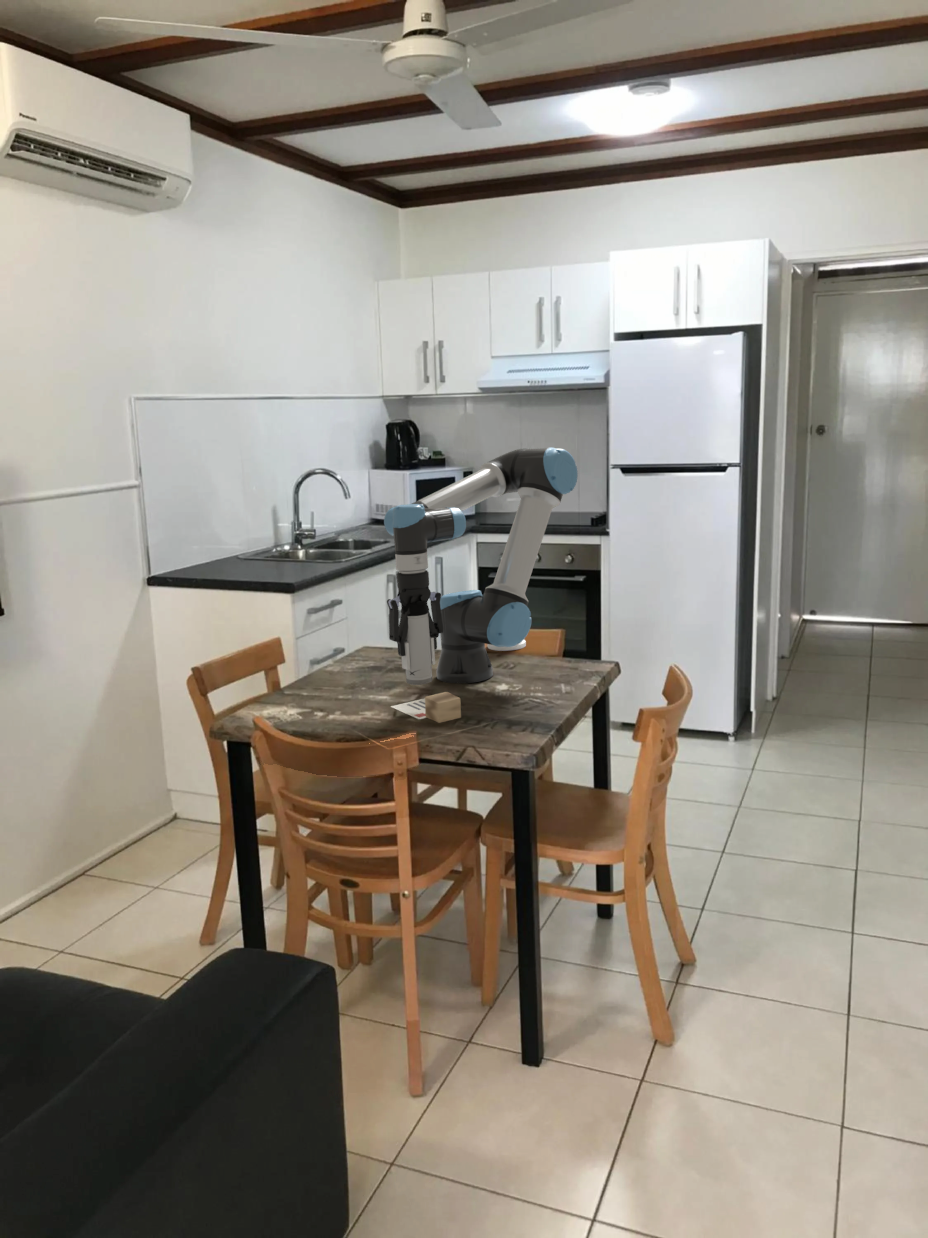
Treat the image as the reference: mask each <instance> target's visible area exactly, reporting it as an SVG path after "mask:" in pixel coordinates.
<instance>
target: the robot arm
mask: <svg viewBox="0 0 928 1238" xmlns="http://www.w3.org/2000/svg"><path fill="white" fill-rule="evenodd" d="M578 474H579V473H578V467H577V465H576V461H575V459H574V457H573V455H572V454H571V453H570V452H569V451H568V450H566V449H564V448H555V447H544V448H518V449H515V450H511V451H508V452H506V453H504V454H501V455H499V456H498V457H495V458H493V459H492V460H489V461H487V462H485V463H483V464H481V466H480V467H479V470H478V471H475V472H473V473H472V474H469V475H468V476H465V477H463V478H462V479H459V480H457V481H455V482H453V483H451V484H449V485H447V486H445V487H442V488H441V489H438V490H437V491H435V492H433V493H431V494H429V495H427V496H424V497H422V498H420V499H418V500H416V501H414V502H412V503H408V504H398V505H396V506H394V507H391V508H390V509H388V510H387V511H386V513H385V514H384V515H385V516H384V519H383V524H384V528H385V531H386V532H387V533H388V534H389V535H390V536H391V537H393V540H394V541H393V542H394V554H395V555H394V556H395V569H396V571H397V573H396V584H397V589H398V592H397V595H396V597H394V598H392V599H391V598H388V599H387V600H386V603H387V607H388V613H389V614H388V617H389V618H388V621H389V623H388V627H389V629H388V639H389V641H392V642H394V643H395V642H396V643H397V654H398V656H400V657H401V667H402V668H401V669H404V670H405V671H406V670H410V655H409V643H408V642H405V641H406V636H407V632H408V615H409V614H410V609H408V611H407V612H405V614H403V611H402V607H401V609H400V610H399V607H400V605H401V604H403V605H404V606H406V604H412V603H415V602H418V601H423V602H425V601H427V602H428V601H430V608H429V604H427V610H428V618H429V634H430V649H431V665H436V652H435V650H437V649H438V642H437V638H439V636H440V646H441V650H440V654H439V655H440V656H439V658H438V662H437V666H436V679H437V680H439V681H441V682H444V683H449V684H471V683H478V682H482V681H483V682H484V681H486V680H489V679H490V678H492V677H493V675H494V673H493V672H494V671H493V668H494V667H493V665H492V662H491V660H490V657H489V655H488V653H487V648H486V645H487V644H490V645H494V646H497V647H512V646H515V645H517V644H519V643H520V642H522V641H523V640H526V637H527V636H528V634H529V632H530V630H531V626H532V617H531V616H532V613H531V612H532V611H530V608H529V607H528V605H529V600H528V598H527V596H526V591H527V589H528V585H529V582H530V579H531V575H532V573H533V569H534V567H535V563H536V560H537V558H538V554H539V552H540V548H541V544H542V542H543V539H544V535H545V533H546V529H547V528H548V527H547V526H548V524H549V520H550V518H551V517H550V516H551V514H552V510H553V509H554V508H557V507H558V506H560V504H561V501H562V500H563V499H562V498H563V495H567V494H569V493H570V492H572V491H574V489H575V487H576V485H577V482H578ZM509 493H517V494H518V495H519V497H520V501H519V504H518V507H517V509H516V512H515V516H514V520H513V523H512V525H511V528H510V531H509V535H508V538H507V541H506V543H505V547H504V549H503V550H504V551H503V553H502V556H501V559H500V562H499V565H498V568H497V572H496V575H495V578H494V579H493V583H491V584H490V585H487V586H486V587H485V589H484V592H483V594H482V590H479V589H471V590H461V591H456V592H452V593H451V592H449V593H446V594H443V595H442V593H440V592H437V591H431V590H430V574H429V571H428V568H429V563H428V561H429V560H428V544H429V543H432V542H433V543H434V542H441V541H447V540H448V541H449V540H450V541H451V540H453V539H457V538H461V536H463V534H465V531H466V528H467V522H466V521H467V520H466V516H465V514H464V513H463V512H464V511H466V510H467V509H469V508H471V507H473V506H475V505H477V504H479V503H481V502H483V501H485V500H487V499H490V498H491V497H493V498H499V497H502V496H503V495H505V494H509ZM430 609H431V610H430ZM399 611H400V612H399ZM430 611H431V613H430ZM399 613H400V614H399ZM399 615H400V617H399ZM399 618H400V619H399ZM485 644H486V645H485Z"/></svg>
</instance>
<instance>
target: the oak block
mask: <svg viewBox="0 0 928 1238" xmlns="http://www.w3.org/2000/svg"><path fill="white" fill-rule="evenodd" d="M424 698H425V711H426V717H427V719H429V720H432V721H434V722H436V723H438V724H441V723H446V722H448V721H454V720H456V719H461V718H462V710H461V708H462V704H461V698H460V697H458V696H457V695H455V694H453V693H450V692H448V691H444V692H443V691H442V692H439V693H435V694H432V695H430V694H429V695H427V696H426V695H425V696H424Z"/></svg>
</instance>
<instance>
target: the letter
mask: <svg viewBox="0 0 928 1238" xmlns="http://www.w3.org/2000/svg"><path fill="white" fill-rule="evenodd" d="M390 708H392V709H395V710H396V711H399V712H402V713H404V714H406V715H408V716H411V717H412V718H415V719H417V720H423V719H426V718H427V717H426V711H425V697H424V698H421V699H416V700H412V701H408V702H404V703H399V704H395V705H391V706H390ZM427 719H428V718H427Z"/></svg>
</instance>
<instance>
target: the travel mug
mask: <svg viewBox="0 0 928 1238" xmlns="http://www.w3.org/2000/svg"><path fill="white" fill-rule="evenodd" d="M427 605H428V601H425V602H423V601H418V602H415V603H412V604H406V606H404V605H403V604H401V603H400V606H401V608H402V611H403V614H405V612H407V611H408V609H410V614H409V615H408V632H407V636H406V641H405V642H408V643H409V655H410V670H406V669H405V678H406V683H407V684H409V685H412V686H413V685H414V686H415V685H417V686H418V685H420V686H421V685H427V684H431V682H433V668H432V664H431V649H430V634H429V618H428V610H427Z"/></svg>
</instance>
